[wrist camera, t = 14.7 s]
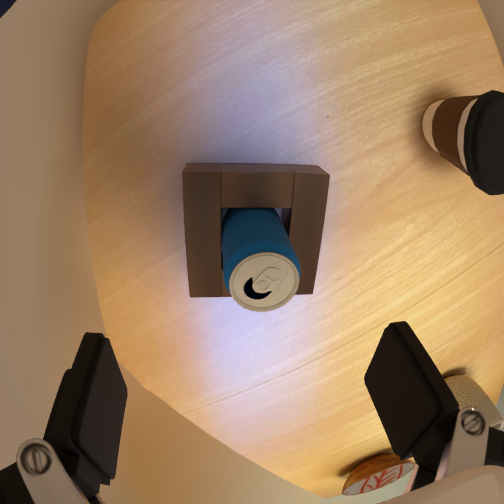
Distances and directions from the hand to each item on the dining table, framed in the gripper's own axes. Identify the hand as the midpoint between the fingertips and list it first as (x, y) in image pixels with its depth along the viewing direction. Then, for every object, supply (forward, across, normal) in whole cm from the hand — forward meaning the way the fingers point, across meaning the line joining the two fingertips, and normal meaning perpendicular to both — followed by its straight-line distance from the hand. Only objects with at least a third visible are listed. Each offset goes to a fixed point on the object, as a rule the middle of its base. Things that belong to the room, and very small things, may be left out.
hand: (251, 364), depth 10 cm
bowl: (+24, -47, +88) cm, 102 cm away
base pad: (+25, -3, +6) cm, 26 cm away
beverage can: (+26, -3, +6) cm, 27 cm away
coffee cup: (+26, -26, -8) cm, 37 cm away
